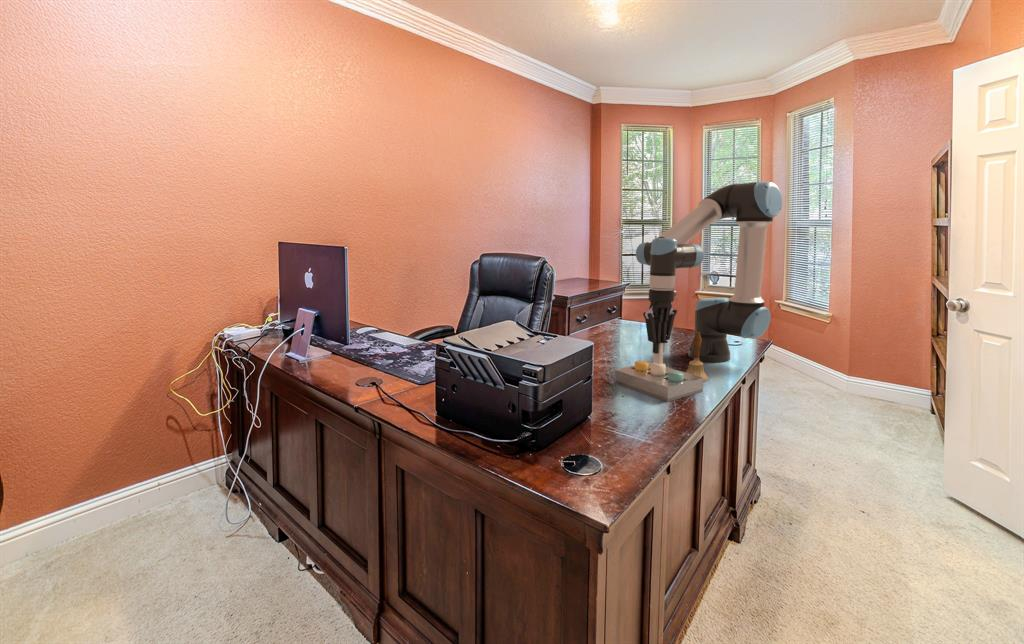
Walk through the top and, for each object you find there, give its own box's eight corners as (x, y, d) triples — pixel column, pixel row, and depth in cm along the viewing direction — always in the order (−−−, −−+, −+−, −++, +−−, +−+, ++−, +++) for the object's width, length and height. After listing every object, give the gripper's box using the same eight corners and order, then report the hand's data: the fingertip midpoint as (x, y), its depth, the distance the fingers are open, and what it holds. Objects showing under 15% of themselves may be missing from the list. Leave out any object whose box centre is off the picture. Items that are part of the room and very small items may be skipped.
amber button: (640, 373, 171) (641, 360, 171) (651, 376, 168) (651, 363, 167) (631, 375, 169) (631, 362, 168) (641, 378, 165) (642, 365, 164)
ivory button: (657, 375, 165) (657, 361, 165) (668, 378, 162) (668, 365, 161) (647, 377, 163) (647, 364, 162) (658, 381, 159) (658, 367, 158)
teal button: (674, 383, 160) (674, 369, 159) (686, 387, 156) (687, 373, 155) (664, 386, 157) (664, 372, 156) (676, 390, 154) (676, 376, 153)
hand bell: (710, 382, 167) (713, 335, 164) (684, 381, 169) (686, 334, 166) (706, 374, 175) (708, 329, 172) (680, 373, 177) (683, 329, 174)
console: (648, 374, 176) (649, 362, 175) (702, 391, 158) (703, 377, 157) (614, 382, 168) (615, 369, 167) (667, 402, 150) (668, 387, 149)
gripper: (666, 286, 163) (662, 357, 168) (637, 289, 156) (634, 363, 161) (685, 288, 157) (681, 362, 161) (656, 291, 150) (652, 368, 155)
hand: (657, 362), depth 161 cm, fingers closed
